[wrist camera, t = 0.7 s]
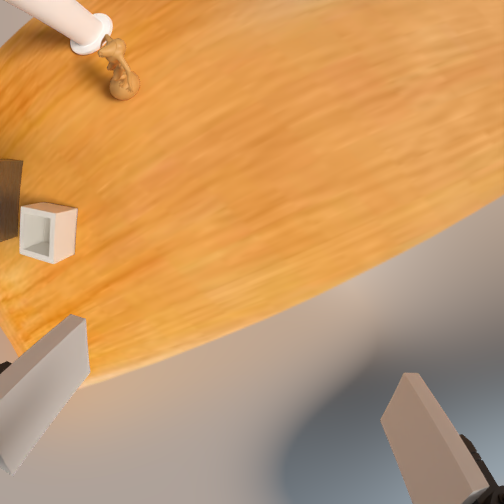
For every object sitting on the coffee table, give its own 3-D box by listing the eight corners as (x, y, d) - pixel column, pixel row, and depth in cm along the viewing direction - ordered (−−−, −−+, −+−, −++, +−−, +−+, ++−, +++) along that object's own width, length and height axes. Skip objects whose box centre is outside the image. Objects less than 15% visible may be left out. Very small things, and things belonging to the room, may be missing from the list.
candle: (74, 23, 32) (-29, -43, 8) (115, 9, 32) (20, -79, 8) (70, 61, 34) (-51, 6, 10) (111, 47, 34) (-3, -32, 9)
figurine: (106, 77, 35) (58, 50, 23) (141, 50, 34) (103, 13, 22) (132, 121, 36) (86, 103, 24) (170, 93, 35) (136, 63, 24)
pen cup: (44, 201, 39) (20, 206, 33) (77, 208, 39) (55, 213, 34) (41, 244, 40) (19, 253, 35) (74, 253, 40) (53, 263, 35)
